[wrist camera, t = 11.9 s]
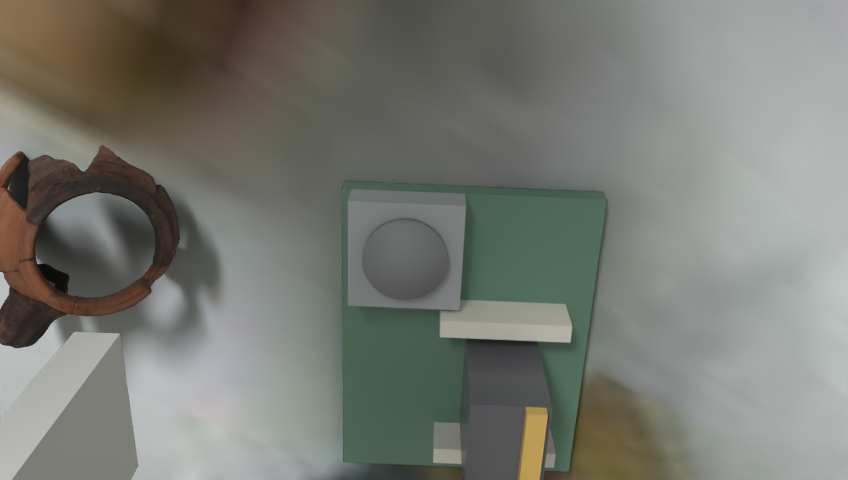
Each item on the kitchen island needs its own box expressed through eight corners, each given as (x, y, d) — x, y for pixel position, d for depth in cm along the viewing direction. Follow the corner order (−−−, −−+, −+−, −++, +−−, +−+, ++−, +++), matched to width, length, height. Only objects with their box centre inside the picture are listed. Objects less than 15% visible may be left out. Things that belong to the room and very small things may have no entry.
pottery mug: (20, 92, 41) (35, 131, 34) (185, 159, 47) (225, 203, 40) (-68, 291, 42) (-70, 364, 36) (102, 332, 48) (128, 402, 41)
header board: (344, 181, 42) (336, 205, 39) (602, 191, 42) (617, 217, 39) (345, 449, 49) (338, 490, 46) (565, 458, 49) (575, 500, 46)
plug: (465, 331, 44) (471, 411, 37) (535, 334, 44) (554, 415, 37) (459, 418, 47) (463, 508, 40) (525, 421, 47) (541, 512, 40)
